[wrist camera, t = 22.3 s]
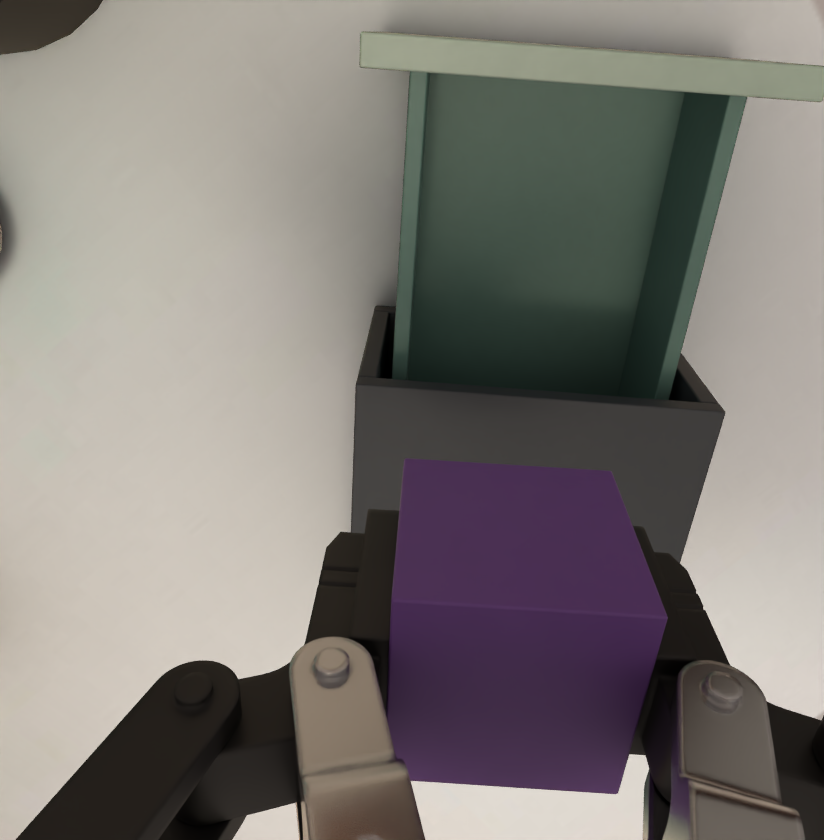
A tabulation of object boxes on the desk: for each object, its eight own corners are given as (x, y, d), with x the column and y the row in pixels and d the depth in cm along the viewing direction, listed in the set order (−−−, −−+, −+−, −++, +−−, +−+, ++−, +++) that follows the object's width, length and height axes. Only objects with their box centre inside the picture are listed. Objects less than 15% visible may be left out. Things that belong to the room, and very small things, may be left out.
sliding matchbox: (380, 31, 24) (350, 31, 16) (737, 58, 24) (879, 71, 16) (357, 610, 35) (333, 770, 28) (595, 628, 35) (638, 794, 28)
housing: (375, 304, 28) (355, 384, 22) (662, 327, 28) (726, 412, 22) (362, 584, 35) (344, 706, 29) (596, 601, 35) (630, 728, 29)
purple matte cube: (612, 470, 14) (669, 617, 10) (579, 625, 16) (618, 795, 12) (404, 457, 14) (391, 600, 10) (395, 614, 16) (383, 779, 12)
